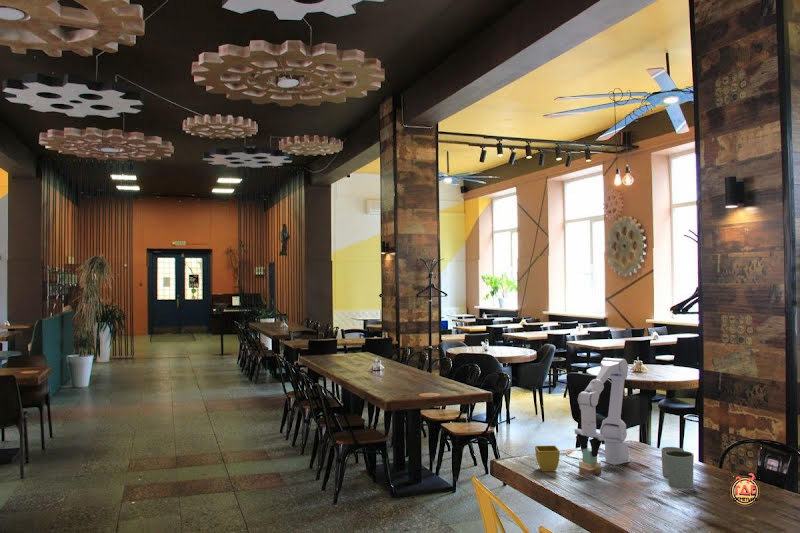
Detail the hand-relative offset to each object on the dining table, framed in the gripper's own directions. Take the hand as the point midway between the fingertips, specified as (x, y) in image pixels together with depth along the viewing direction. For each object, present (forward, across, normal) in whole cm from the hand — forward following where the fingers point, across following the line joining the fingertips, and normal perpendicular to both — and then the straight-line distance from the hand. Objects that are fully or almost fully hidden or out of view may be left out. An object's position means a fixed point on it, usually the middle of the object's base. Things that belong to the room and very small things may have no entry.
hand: (589, 454), depth 269 cm
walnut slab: (+7, 0, 0) cm, 7 cm away
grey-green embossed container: (+7, +31, +15) cm, 35 cm away
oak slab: (+5, 0, 0) cm, 5 cm away
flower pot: (+7, -12, -12) cm, 18 cm away
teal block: (+3, 0, 0) cm, 3 cm away
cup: (+7, +21, +24) cm, 33 cm away
